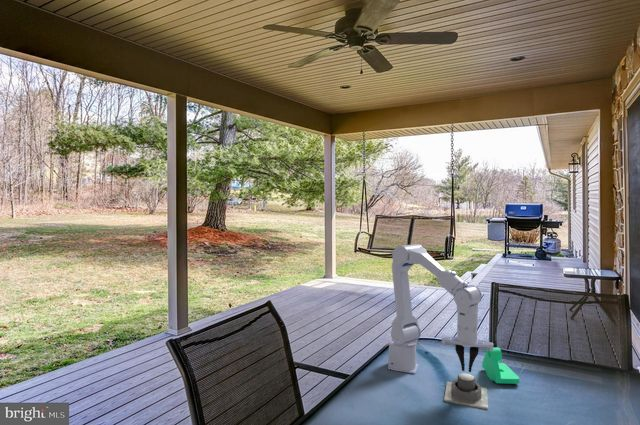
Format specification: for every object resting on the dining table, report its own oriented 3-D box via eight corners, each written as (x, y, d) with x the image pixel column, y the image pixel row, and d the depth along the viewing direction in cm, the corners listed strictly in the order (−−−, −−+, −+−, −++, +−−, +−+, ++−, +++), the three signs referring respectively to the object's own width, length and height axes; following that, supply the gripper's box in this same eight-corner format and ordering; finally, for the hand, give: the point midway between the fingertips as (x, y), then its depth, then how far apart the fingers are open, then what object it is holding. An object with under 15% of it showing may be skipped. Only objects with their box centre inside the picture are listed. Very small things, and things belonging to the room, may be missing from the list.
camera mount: (520, 387, 124) (521, 355, 124) (496, 386, 125) (496, 355, 124) (504, 370, 136) (504, 341, 136) (482, 369, 137) (482, 341, 136)
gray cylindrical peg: (457, 395, 117) (457, 378, 117) (457, 388, 122) (457, 371, 122) (475, 399, 115) (475, 381, 115) (474, 391, 120) (475, 374, 120)
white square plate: (444, 401, 115) (444, 391, 115) (446, 383, 126) (447, 373, 126) (488, 409, 111) (488, 398, 111) (487, 390, 122) (487, 380, 122)
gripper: (441, 327, 117) (440, 371, 117) (493, 333, 111) (493, 380, 112) (443, 320, 123) (442, 362, 124) (493, 326, 118) (492, 370, 118)
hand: (466, 370), depth 118 cm, fingers closed
